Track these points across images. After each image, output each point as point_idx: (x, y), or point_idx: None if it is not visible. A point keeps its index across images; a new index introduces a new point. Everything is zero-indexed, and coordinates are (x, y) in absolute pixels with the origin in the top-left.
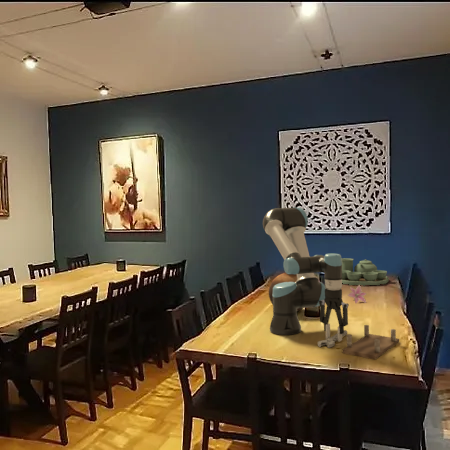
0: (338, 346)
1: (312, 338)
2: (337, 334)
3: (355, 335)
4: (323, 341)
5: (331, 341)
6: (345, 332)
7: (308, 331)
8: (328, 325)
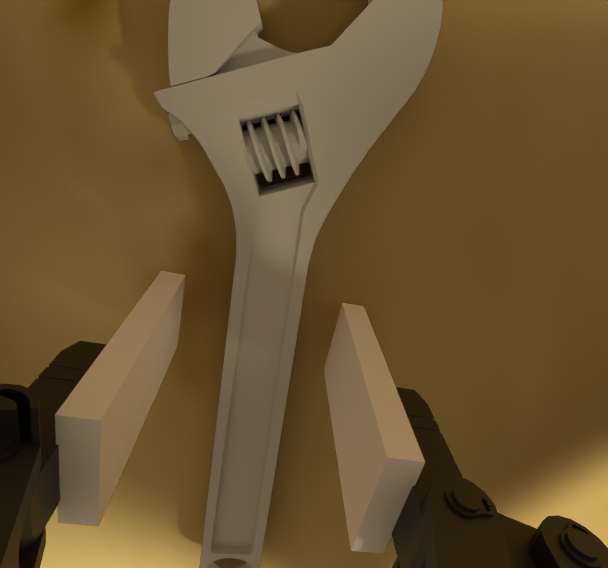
0: (116, 106)
1: (531, 314)
2: (261, 468)
3: (122, 544)
4: (351, 72)
5: (224, 131)
6: (202, 545)
7: (584, 498)
8: (363, 483)
